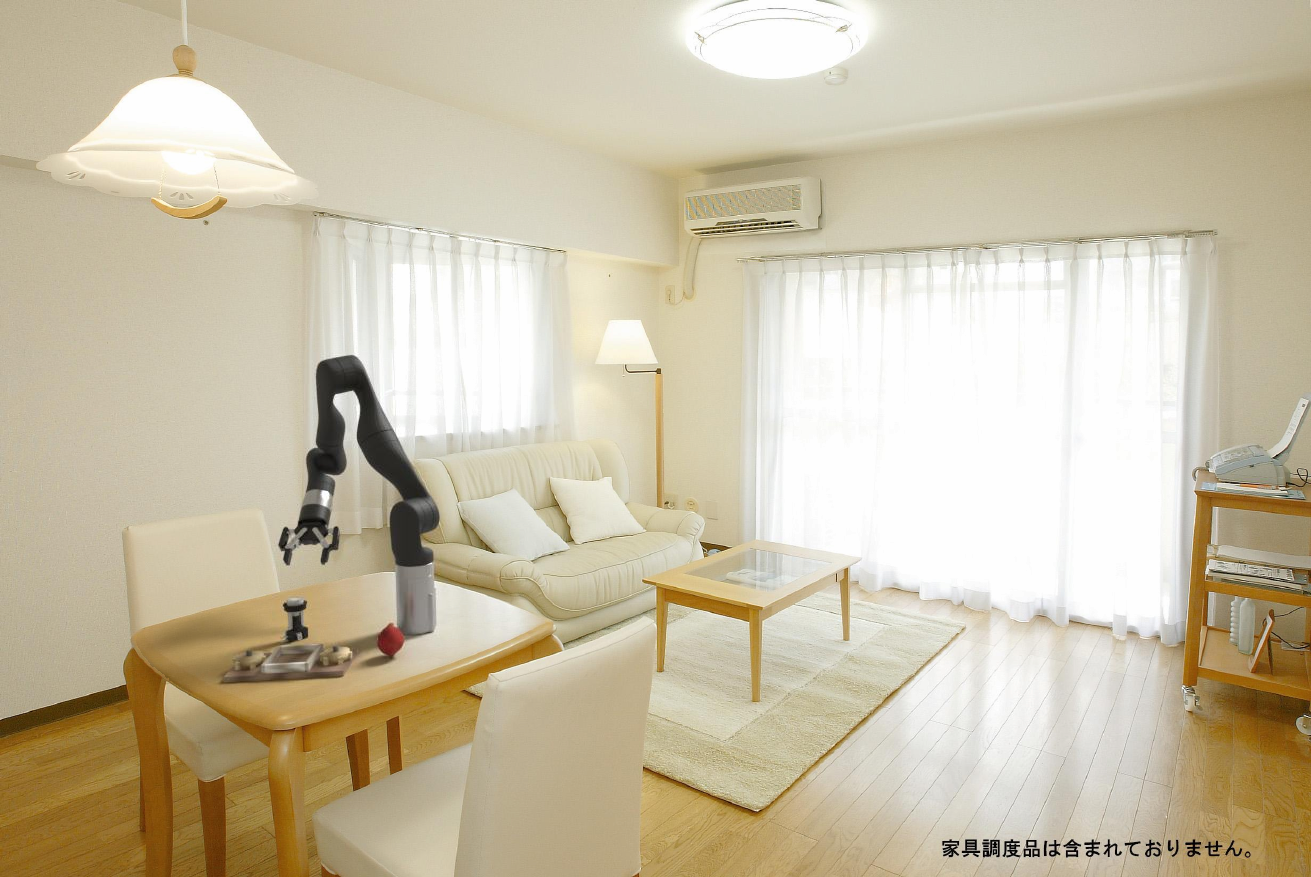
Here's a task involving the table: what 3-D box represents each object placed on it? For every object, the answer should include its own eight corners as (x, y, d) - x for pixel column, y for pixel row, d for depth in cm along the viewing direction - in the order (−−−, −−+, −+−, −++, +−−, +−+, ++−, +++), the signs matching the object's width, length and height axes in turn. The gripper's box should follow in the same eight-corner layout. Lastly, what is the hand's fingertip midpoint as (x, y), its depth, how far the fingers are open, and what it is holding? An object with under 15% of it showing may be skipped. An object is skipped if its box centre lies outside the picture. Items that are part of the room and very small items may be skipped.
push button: (287, 646, 181) (285, 605, 180) (274, 642, 184) (272, 601, 183) (313, 638, 187) (311, 598, 186) (300, 633, 190) (298, 594, 189)
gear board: (358, 653, 177) (358, 635, 177) (345, 676, 165) (344, 657, 164) (244, 659, 174) (243, 641, 173) (221, 682, 161) (220, 663, 160)
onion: (388, 663, 172) (387, 628, 171) (372, 658, 175) (370, 623, 174) (409, 655, 177) (408, 621, 176) (392, 650, 180) (392, 616, 179)
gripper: (284, 502, 201) (271, 556, 191) (341, 502, 204) (331, 555, 194) (291, 518, 207) (278, 571, 197) (346, 517, 209) (337, 570, 199)
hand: (305, 563), depth 195 cm, fingers open, 8 cm apart
